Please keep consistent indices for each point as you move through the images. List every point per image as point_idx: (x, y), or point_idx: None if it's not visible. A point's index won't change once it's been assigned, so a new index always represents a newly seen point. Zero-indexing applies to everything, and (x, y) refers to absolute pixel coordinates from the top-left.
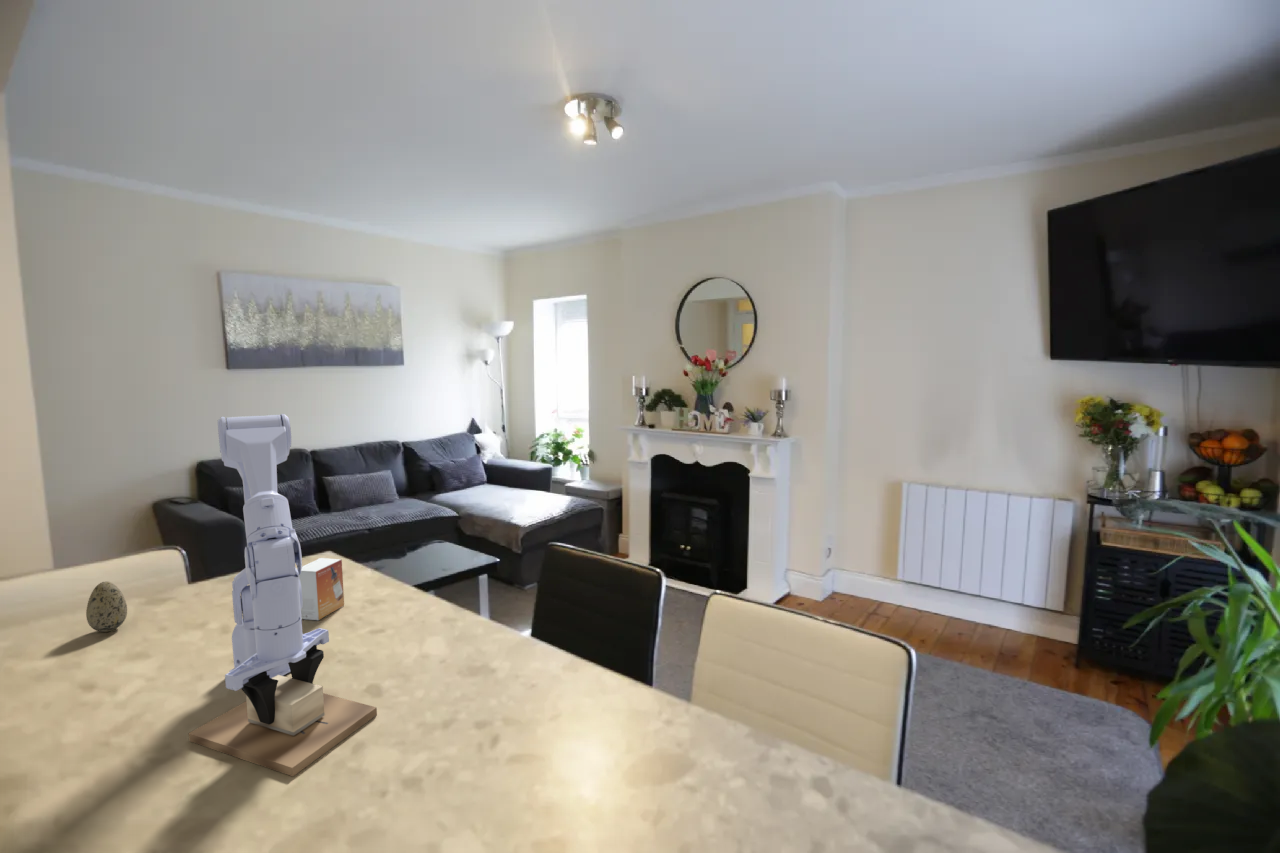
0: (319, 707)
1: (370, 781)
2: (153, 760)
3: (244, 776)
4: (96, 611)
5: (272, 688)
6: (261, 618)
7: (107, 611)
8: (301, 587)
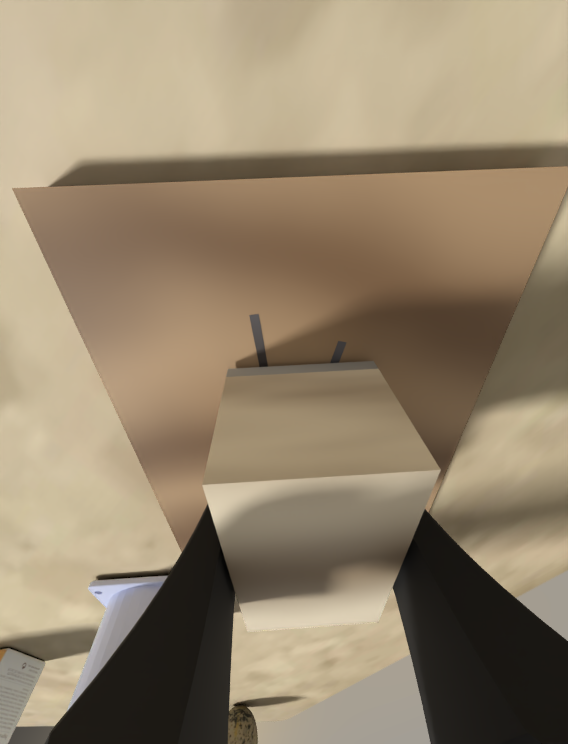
0: (246, 398)
1: None
2: (464, 531)
3: (522, 346)
4: None
5: (515, 657)
6: None
7: None
8: None
